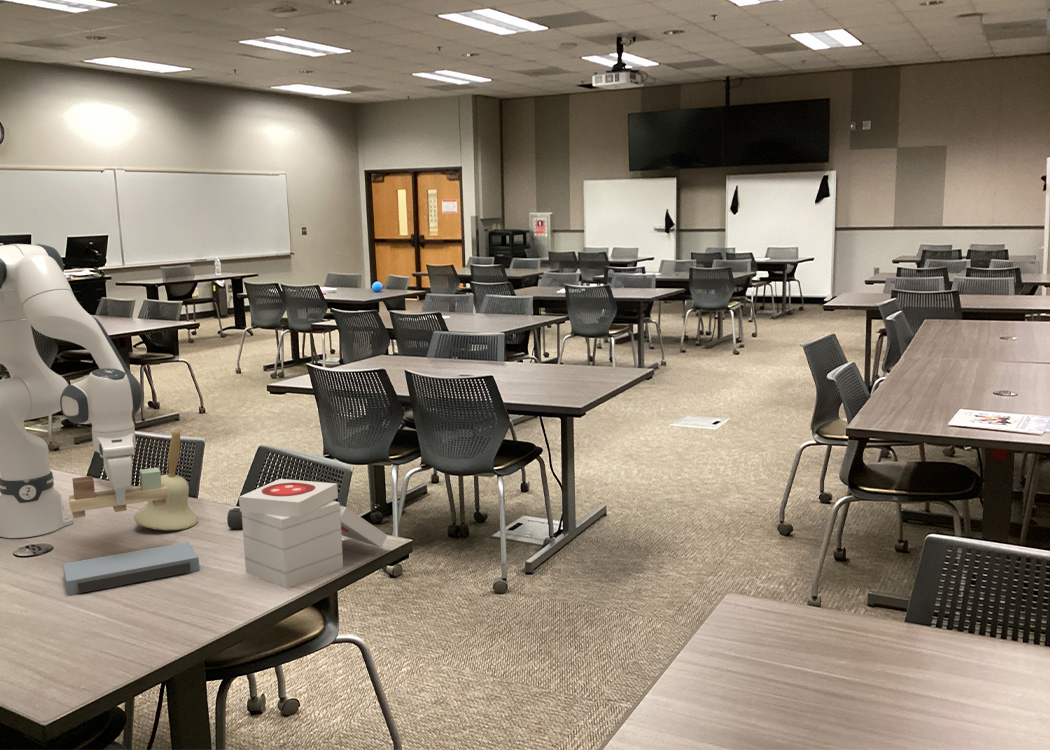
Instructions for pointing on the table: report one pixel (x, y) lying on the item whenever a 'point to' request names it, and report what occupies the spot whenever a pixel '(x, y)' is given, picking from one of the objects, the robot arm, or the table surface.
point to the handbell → (170, 499)
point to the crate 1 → (83, 487)
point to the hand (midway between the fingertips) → (119, 499)
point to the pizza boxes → (298, 531)
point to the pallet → (109, 500)
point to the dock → (129, 567)
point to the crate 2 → (150, 479)
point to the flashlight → (235, 518)
